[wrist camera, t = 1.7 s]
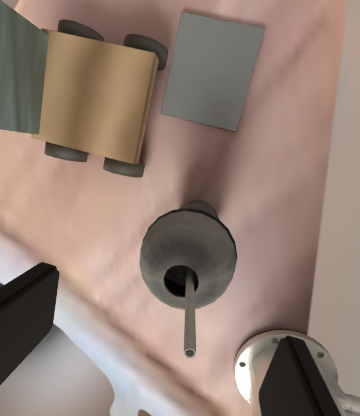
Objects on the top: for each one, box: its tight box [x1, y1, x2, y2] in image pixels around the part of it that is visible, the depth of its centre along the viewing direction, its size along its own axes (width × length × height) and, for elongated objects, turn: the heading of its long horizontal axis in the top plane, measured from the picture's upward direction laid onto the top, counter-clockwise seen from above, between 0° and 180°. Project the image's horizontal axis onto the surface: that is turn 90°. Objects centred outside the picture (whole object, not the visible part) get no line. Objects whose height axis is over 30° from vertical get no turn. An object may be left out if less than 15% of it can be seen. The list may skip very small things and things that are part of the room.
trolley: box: [0, 0, 168, 177], centre depth 22 cm, size 12×13×12 cm
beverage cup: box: [140, 201, 237, 358], centre depth 19 cm, size 7×7×20 cm
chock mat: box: [161, 12, 265, 132], centre depth 26 cm, size 9×10×1 cm
